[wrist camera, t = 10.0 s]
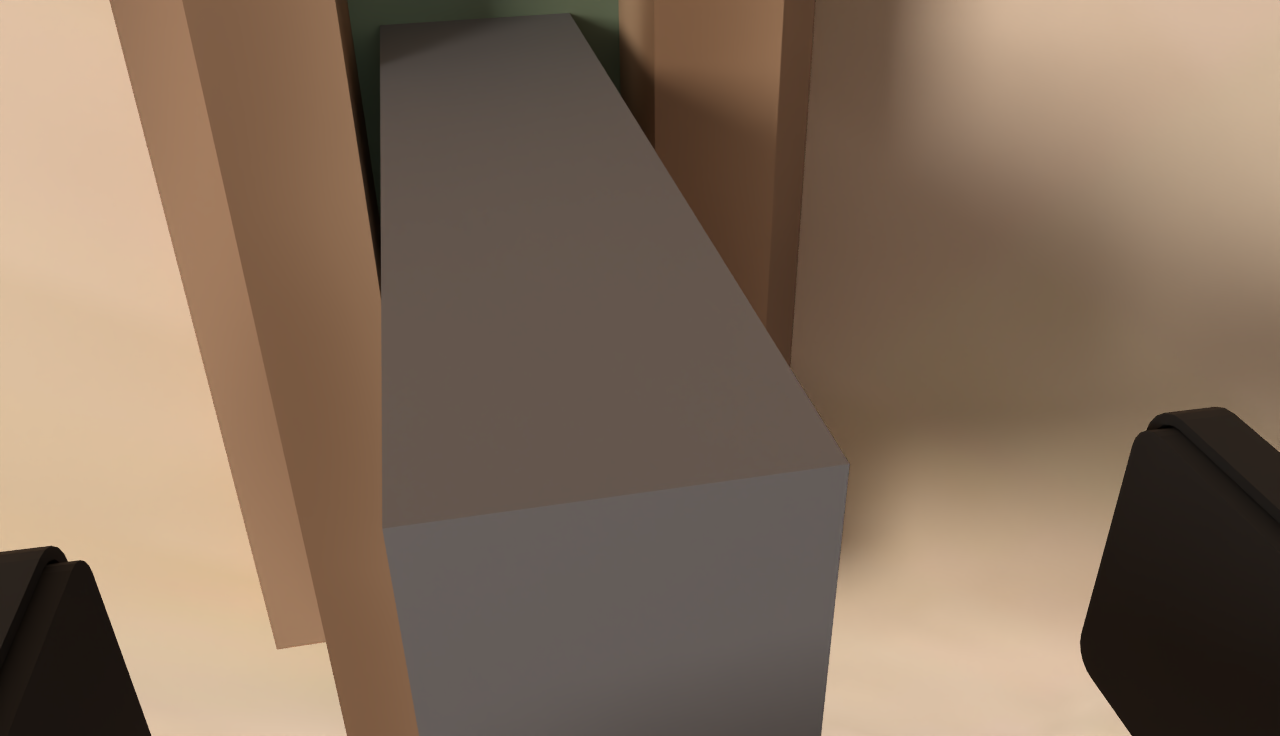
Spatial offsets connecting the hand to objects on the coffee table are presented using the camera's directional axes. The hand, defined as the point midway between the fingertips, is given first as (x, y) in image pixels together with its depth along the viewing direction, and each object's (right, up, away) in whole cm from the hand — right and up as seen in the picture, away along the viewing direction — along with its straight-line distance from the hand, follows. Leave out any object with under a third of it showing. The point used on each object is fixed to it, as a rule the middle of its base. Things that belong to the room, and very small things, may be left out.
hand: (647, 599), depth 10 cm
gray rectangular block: (-2, +4, +6) cm, 7 cm away
